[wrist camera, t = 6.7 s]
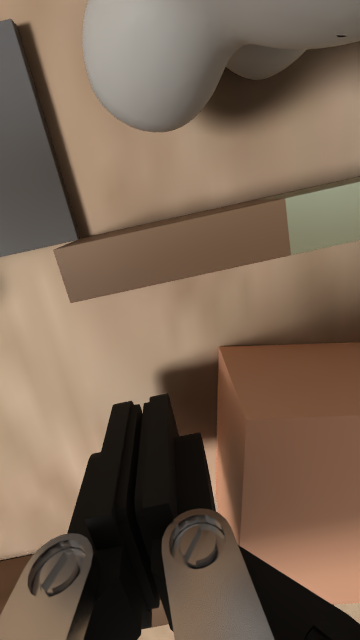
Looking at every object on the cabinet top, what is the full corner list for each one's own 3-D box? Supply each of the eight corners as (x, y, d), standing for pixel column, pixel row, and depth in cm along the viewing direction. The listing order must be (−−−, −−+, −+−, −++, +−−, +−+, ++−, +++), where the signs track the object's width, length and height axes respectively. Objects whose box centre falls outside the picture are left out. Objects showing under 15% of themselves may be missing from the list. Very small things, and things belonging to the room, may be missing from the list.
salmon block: (218, 345, 11) (246, 419, 7) (399, 339, 11) (519, 408, 7) (215, 491, 13) (236, 610, 9) (370, 484, 13) (453, 597, 9)
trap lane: (-383, 121, 8) (-601, 88, 6) (530, -98, 8) (692, -233, 5) (-19, 670, 16) (-51, 754, 13) (467, 578, 15) (524, 648, 13)
